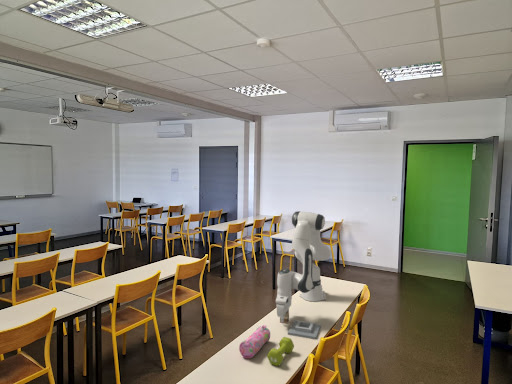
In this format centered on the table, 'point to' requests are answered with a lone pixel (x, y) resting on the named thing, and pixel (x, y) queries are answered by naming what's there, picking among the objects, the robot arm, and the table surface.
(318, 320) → the table surface
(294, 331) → the socket board
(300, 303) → the table surface
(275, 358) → the dumbbell
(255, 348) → the pencil case
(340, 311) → the table surface
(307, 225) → the robot arm
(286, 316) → the stack block
